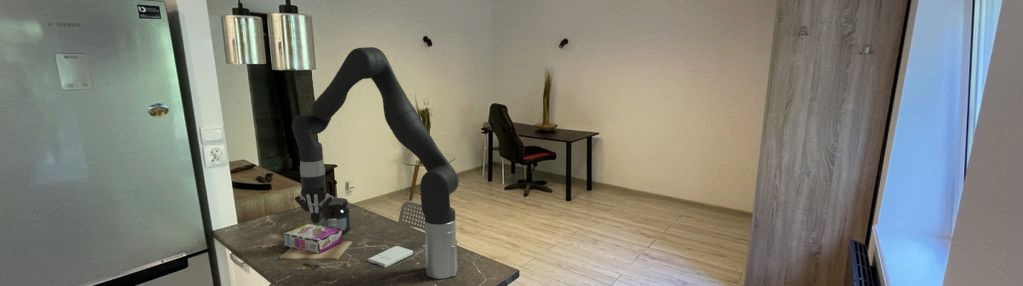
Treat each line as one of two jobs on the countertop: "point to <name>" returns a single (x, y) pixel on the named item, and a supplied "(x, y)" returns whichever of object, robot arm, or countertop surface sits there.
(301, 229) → the candy bar box
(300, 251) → the cork mat
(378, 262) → the external hard drive
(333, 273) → the countertop surface
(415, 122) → the robot arm
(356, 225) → the countertop surface
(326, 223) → the supplement container
